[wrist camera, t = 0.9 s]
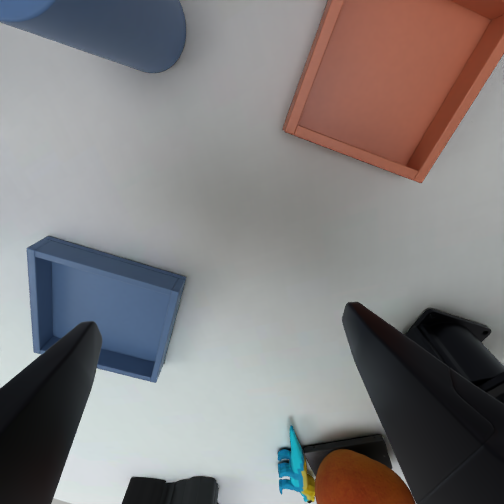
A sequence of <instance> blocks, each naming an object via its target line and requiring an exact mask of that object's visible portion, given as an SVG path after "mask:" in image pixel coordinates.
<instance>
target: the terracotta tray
mask: <svg viewBox="0 0 504 504" xmlns="http://www.w3.org/2000/svg"><path fill="white" fill-rule="evenodd" d="M503 54H504V0H328V2H327V5H326V8H325V10H324V13H323V16H322V19H321V22H320V24H319V27H318V30H317V33H316V36H315V39H314V41H313V44H312V47H311V50H310V53H309V55H308V58H307V61H306V64H305V67H304V69H303V72H302V75H301V78H300V81H299V84H298V86H297V89H296V92H295V95H294V98H293V100H292V103H291V106H290V109H289V112H288V115H287V117H286V120H285V123H284V126H283V129H282V130H284V131H285V132H286V133H289V134H291V135H294V136H297V137H299V138H302V139H305V140H307V141H310V142H313V143H315V144H318V145H321V146H323V147H326V148H329V149H331V150H334V151H337V152H339V153H342V154H345V155H347V156H350V157H352V158H355V159H358V160H360V161H363V162H366V163H368V164H371V165H374V166H376V167H379V168H382V169H384V170H387V171H390V172H392V173H395V174H398V175H400V176H403V177H406V178H408V179H411V180H414V181H416V182H419V183H422V182H423V180H424V179H425V177H426V176H427V174H428V172H429V171H430V169H431V168H432V166H433V165H434V163H435V161H436V160H437V158H438V157H439V155H440V153H441V152H442V150H443V149H444V147H445V146H446V144H447V142H448V141H449V139H450V138H451V136H452V134H453V133H454V131H455V130H456V128H457V127H458V125H459V123H460V122H461V120H462V119H463V117H464V116H465V114H466V112H467V111H468V109H469V108H470V106H471V104H472V103H473V101H474V100H475V98H476V97H477V95H478V93H479V92H480V90H481V89H482V87H483V86H484V84H485V82H486V81H487V79H488V78H489V76H490V74H491V73H492V71H493V70H494V68H495V67H496V65H497V63H498V62H499V60H500V59H501V57H502V56H503Z"/></svg>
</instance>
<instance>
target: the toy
mask: <svg viewBox="0 0 504 504" xmlns="http://www.w3.org/2000/svg"><path fill="white" fill-rule="evenodd" d="M290 443H291V451H289V450H286V449H282V450H281V451H279V452H278V460H280V461H281V459H289V463H281V464H280V463H279V464H278V473H279V478H282V477H283V476H289V477H290V480H288V479H283V480H282V479H280V480H279V490H280V493H281V494H282V489H290V490H295V491H297V492H300V493H301V495H302V496H303V497H304V501H305V502H308V503H311V502H314V499H315V497H314V496H315V480H314V478H313V477H312V476H311V475H309V474H307V465H306V459H305V457H304V454H303V450H302V448H301V446H300V444H299V442H298V439H297V437H296V434H295V432H294V429H293V426H291V427H290Z"/></svg>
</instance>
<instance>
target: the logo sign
mask: <svg viewBox="0 0 504 504" xmlns="http://www.w3.org/2000/svg"><path fill="white" fill-rule="evenodd" d="M165 482H166V481H164V480H159V479H150V478H139V477H132V478H131V480H130V482H129V485H128V488H127V491H126V493H125V496H124V499H123V502H122V504H218V503H217V498H218V489H219V488H218V484H217V483H216V480H215V479H213V478H206V477H192V478H190V479H188V480H181V481H178V482H176V483H171V484H166V483H165Z"/></svg>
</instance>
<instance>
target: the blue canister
mask: <svg viewBox="0 0 504 504" xmlns="http://www.w3.org/2000/svg"><path fill="white" fill-rule="evenodd" d="M0 22H1V23H4V24H7V25H9V26H12V27H15V28H18V29H21V30H24V31H27V32H30V33H33V34H36V35H38V36H41V37H44V38H47V39H50V40H53V41H56V42H59V43H62V44H65V45H68V46H70V47H73V48H76V49H79V50H82V51H85V52H88V53H91V54H94V55H97V56H100V57H102V58H105V59H108V60H111V61H114V62H117V63H120V64H123V65H126V66H129V67H132V68H134V69H137V70H140V71H143V72H148V73H158V72H162V71H165V70H167V69H168V68H170V67H171V66H172V65H173V64H174V63H175V62H176V61H177V60H178V58H179V57H180V55H181V53H182V50H183V48H184V44H185V38H186V22H185V17H184V13H183V9H182V6H181V4H180V1H179V0H0Z"/></svg>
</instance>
